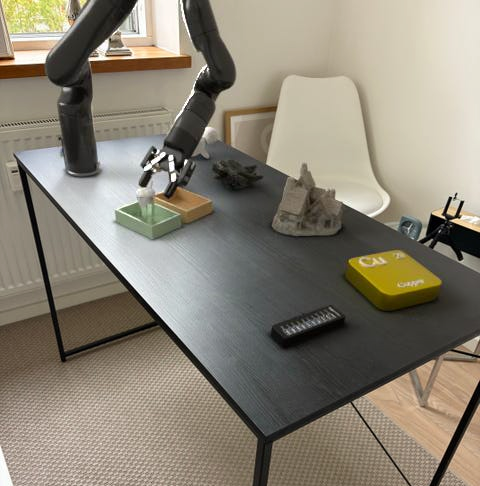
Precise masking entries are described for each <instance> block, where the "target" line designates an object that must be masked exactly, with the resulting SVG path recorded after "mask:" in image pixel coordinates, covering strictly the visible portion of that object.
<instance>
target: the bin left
mask: <svg viewBox="0 0 480 486" xmlns="http://www.w3.org/2000/svg"><path fill="white" fill-rule="evenodd" d="M114 216H115V222H116V223H117V224H119V225H122V226H124V227H126V228H128V229H130V230H133V231H134V232H136V233H138V234H140V235H143V236H144V237H147V238H149V239H151V240H155V239H157V238H159V237H161V236H164V235H166V234H168V233H170V232H173V231H175V230H177V229H178V228H181V227H182V221H181V214H179V213H177V212H174V211H172V210H170V209H167V208H165V207H163V206H161V205H158V204H156V203H155V206H154V224H153V225H150V224H148V223H146V222H144V221H141V220H140V213H139V206H138V202H137V200H136V201H134V202H133V201H132V202H131V203H129V204H125V205H123V206H120V207H118V208H115V209H114Z"/></svg>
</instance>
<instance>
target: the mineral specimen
mask: <svg viewBox="0 0 480 486" xmlns="http://www.w3.org/2000/svg"><path fill="white" fill-rule="evenodd" d="M257 168H258V165H257V164H256V163H255V164H253V165H242V163H239V162H238V161H236V160H235V159H233V158H232V159H227V160H218V161H217V162H216V163H215V162H213V163H212V164H211V168H210V171H211V174H215V175H214V176H213V179H214V180H217V181H218V182H221V183H223V184H224V187H225V188H226V189H229V190H231V191H232V190H233V191H234V190H240V189H242V188H250V187H252V186H253V184H255V183H256V182H259V181H260V180H262V179H264V175H261V174H259V175H258V173H257V172H255V171H256V169H257Z"/></svg>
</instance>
